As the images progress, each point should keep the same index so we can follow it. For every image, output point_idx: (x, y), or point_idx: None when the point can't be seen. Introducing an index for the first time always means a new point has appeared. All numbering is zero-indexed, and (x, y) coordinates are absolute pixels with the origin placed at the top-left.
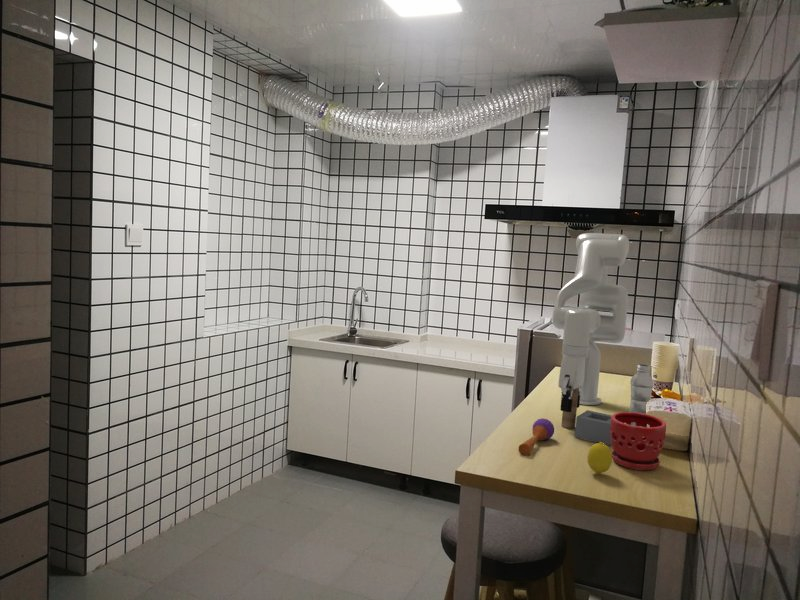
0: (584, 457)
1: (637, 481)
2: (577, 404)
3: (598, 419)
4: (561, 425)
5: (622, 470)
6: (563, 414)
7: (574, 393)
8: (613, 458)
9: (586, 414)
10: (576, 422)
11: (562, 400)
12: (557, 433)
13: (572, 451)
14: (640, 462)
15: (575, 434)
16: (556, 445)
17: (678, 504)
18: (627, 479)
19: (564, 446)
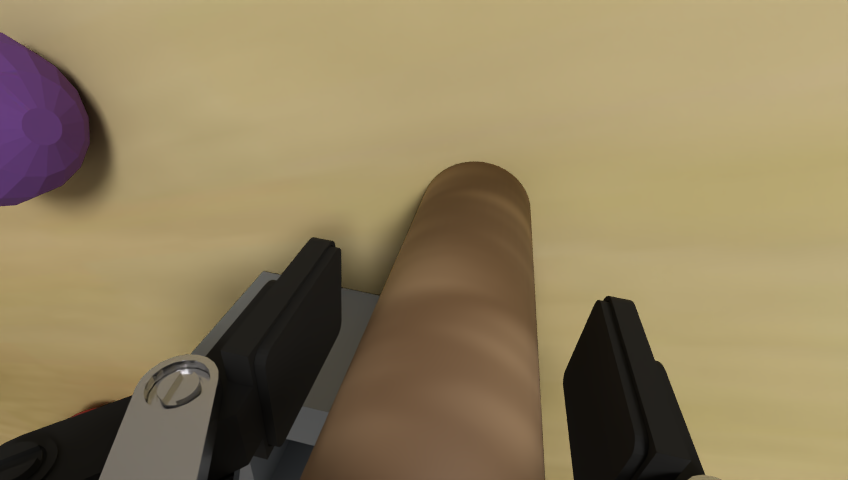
0: (40, 321)
1: None
2: (570, 402)
3: (252, 476)
4: (462, 164)
5: (65, 414)
6: (418, 226)
7: None
8: (75, 414)
9: (310, 431)
10: (203, 342)
11: (250, 330)
12: (247, 168)
13: (49, 277)
14: None
15: (253, 285)
16: (40, 200)
17: None
18: (16, 417)
19: (70, 238)
